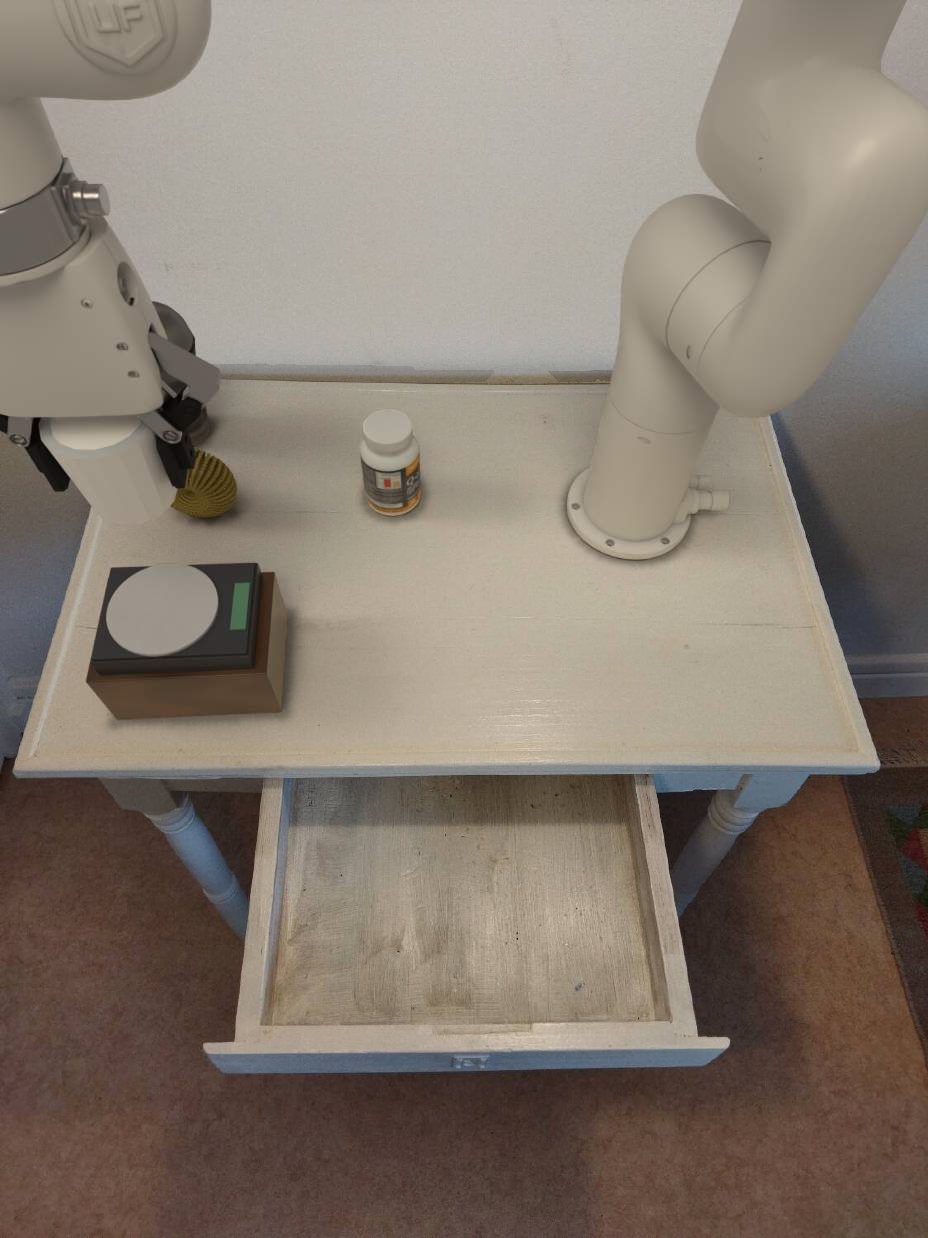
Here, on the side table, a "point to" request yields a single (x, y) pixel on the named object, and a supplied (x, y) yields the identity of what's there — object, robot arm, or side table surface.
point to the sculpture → (206, 488)
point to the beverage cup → (185, 339)
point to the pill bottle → (390, 462)
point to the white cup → (111, 465)
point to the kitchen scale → (178, 619)
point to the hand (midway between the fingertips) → (123, 472)
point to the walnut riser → (207, 677)
